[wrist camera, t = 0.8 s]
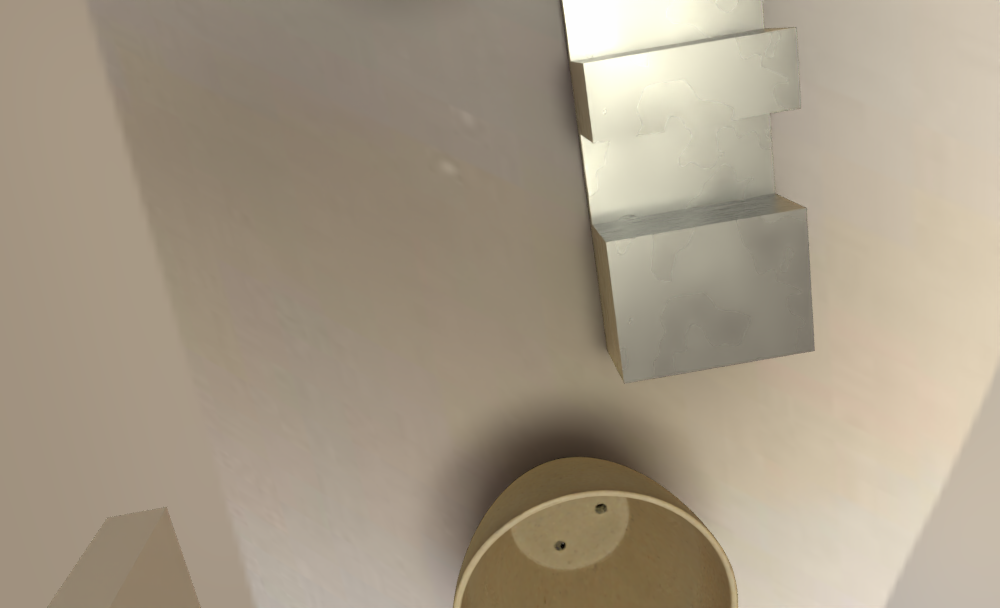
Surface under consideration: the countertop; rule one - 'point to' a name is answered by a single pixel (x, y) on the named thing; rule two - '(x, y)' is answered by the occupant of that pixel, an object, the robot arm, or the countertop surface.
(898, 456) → the countertop surface
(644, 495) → the beige planter bowl
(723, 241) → the grey block fixture
